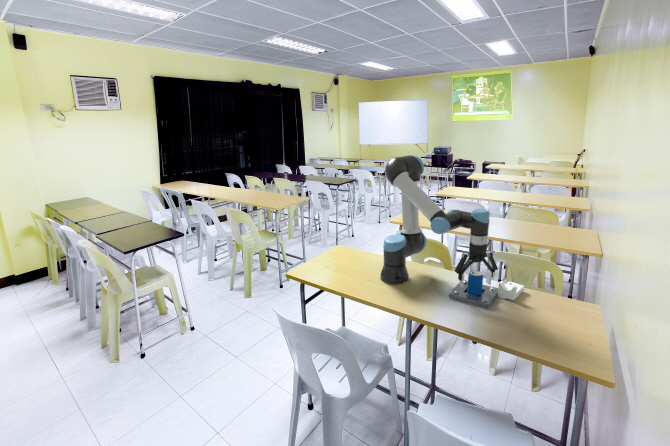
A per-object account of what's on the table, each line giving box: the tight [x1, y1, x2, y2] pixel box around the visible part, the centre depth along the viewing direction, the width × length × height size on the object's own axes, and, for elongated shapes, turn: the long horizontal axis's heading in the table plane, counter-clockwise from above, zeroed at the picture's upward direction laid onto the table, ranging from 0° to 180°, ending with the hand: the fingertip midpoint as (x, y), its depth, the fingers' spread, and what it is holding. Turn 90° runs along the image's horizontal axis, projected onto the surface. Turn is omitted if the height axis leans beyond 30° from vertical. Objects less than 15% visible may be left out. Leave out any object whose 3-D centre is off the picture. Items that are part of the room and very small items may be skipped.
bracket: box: [497, 280, 525, 301], centre depth 163 cm, size 13×7×8 cm, turn 133°
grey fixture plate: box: [448, 279, 499, 310], centre depth 164 cm, size 18×18×3 cm
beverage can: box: [467, 270, 484, 297], centre depth 163 cm, size 6×6×12 cm
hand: (475, 284), depth 163 cm, fingers open, 13 cm apart
